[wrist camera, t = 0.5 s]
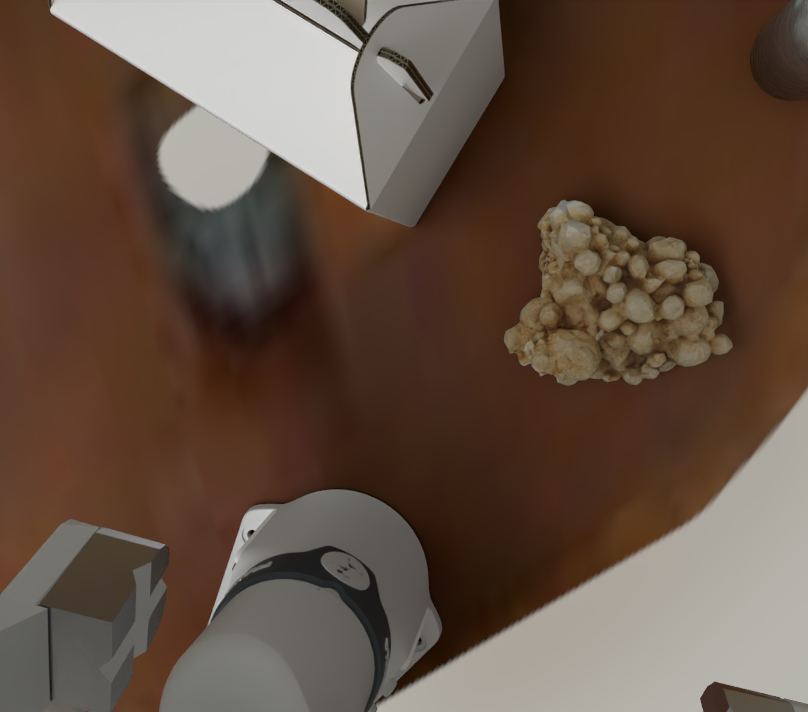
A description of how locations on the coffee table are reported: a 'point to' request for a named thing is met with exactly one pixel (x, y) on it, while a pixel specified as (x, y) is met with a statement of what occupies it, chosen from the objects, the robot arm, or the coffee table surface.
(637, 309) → the mineral formation
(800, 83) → the brushed metal cylinder
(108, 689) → the robot arm
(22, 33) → the coffee table surface
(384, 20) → the gable box
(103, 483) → the coffee table surface
